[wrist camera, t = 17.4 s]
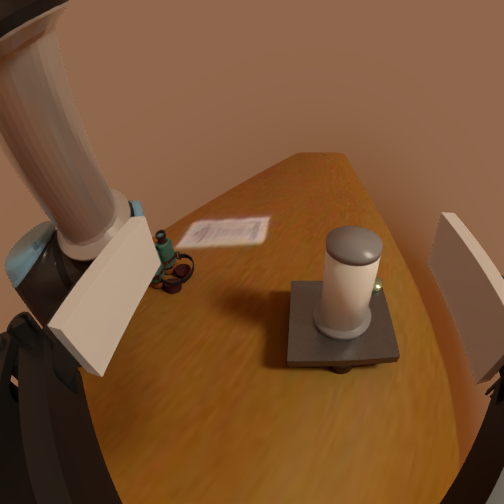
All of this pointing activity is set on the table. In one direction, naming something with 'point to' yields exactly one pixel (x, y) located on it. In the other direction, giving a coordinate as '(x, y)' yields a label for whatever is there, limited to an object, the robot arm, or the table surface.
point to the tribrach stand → (330, 350)
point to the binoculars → (170, 265)
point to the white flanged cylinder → (347, 282)
